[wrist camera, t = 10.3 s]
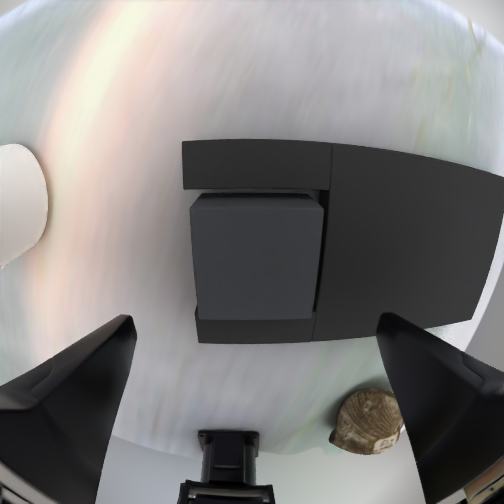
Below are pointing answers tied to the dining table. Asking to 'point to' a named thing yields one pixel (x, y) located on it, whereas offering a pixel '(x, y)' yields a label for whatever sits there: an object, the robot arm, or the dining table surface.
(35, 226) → the beverage can
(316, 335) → the u-shaped holder
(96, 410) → the robot arm
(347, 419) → the fossilized seashell
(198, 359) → the dining table surface
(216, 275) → the pad
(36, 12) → the dining table surface
